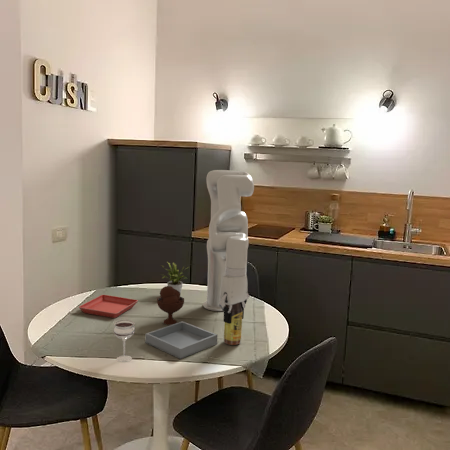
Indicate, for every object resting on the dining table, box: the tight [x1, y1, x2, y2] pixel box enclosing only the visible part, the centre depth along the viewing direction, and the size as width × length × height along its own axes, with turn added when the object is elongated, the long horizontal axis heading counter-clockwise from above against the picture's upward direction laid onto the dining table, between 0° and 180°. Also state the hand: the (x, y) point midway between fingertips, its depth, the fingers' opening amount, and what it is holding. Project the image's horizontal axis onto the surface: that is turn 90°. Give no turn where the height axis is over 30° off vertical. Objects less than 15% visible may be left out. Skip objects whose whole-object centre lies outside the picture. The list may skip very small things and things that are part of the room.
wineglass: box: [113, 319, 136, 363], centre depth 158 cm, size 7×7×12 cm
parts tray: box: [144, 321, 218, 360], centre depth 173 cm, size 18×18×4 cm
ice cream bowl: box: [156, 285, 185, 326], centre depth 191 cm, size 11×11×15 cm
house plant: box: [159, 262, 189, 295], centre depth 225 cm, size 14×14×16 cm
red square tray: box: [78, 294, 139, 319], centre depth 204 cm, size 18×18×3 cm
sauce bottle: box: [223, 302, 243, 346], centre depth 174 cm, size 7×6×20 cm
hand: (233, 319), depth 174 cm, fingers closed on sauce bottle, 6 cm apart
